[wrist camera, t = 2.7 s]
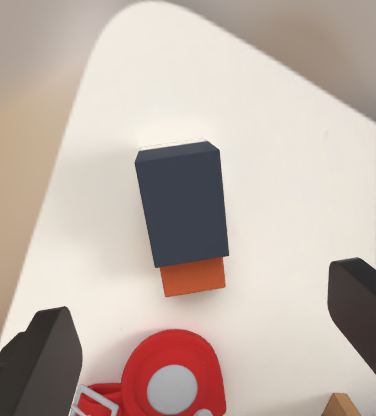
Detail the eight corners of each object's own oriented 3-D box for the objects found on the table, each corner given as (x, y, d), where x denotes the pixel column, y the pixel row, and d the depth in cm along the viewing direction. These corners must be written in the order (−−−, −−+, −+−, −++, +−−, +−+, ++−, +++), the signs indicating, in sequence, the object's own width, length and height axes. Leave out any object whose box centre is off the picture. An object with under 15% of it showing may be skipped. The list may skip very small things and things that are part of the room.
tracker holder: (179, 313, 22) (258, 408, 23) (174, 295, 26) (240, 375, 27) (47, 425, 21) (136, 521, 22) (65, 387, 25) (138, 468, 26)
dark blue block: (140, 147, 19) (134, 161, 14) (204, 137, 19) (219, 149, 14) (163, 272, 22) (164, 318, 17) (218, 264, 22) (233, 306, 18)
